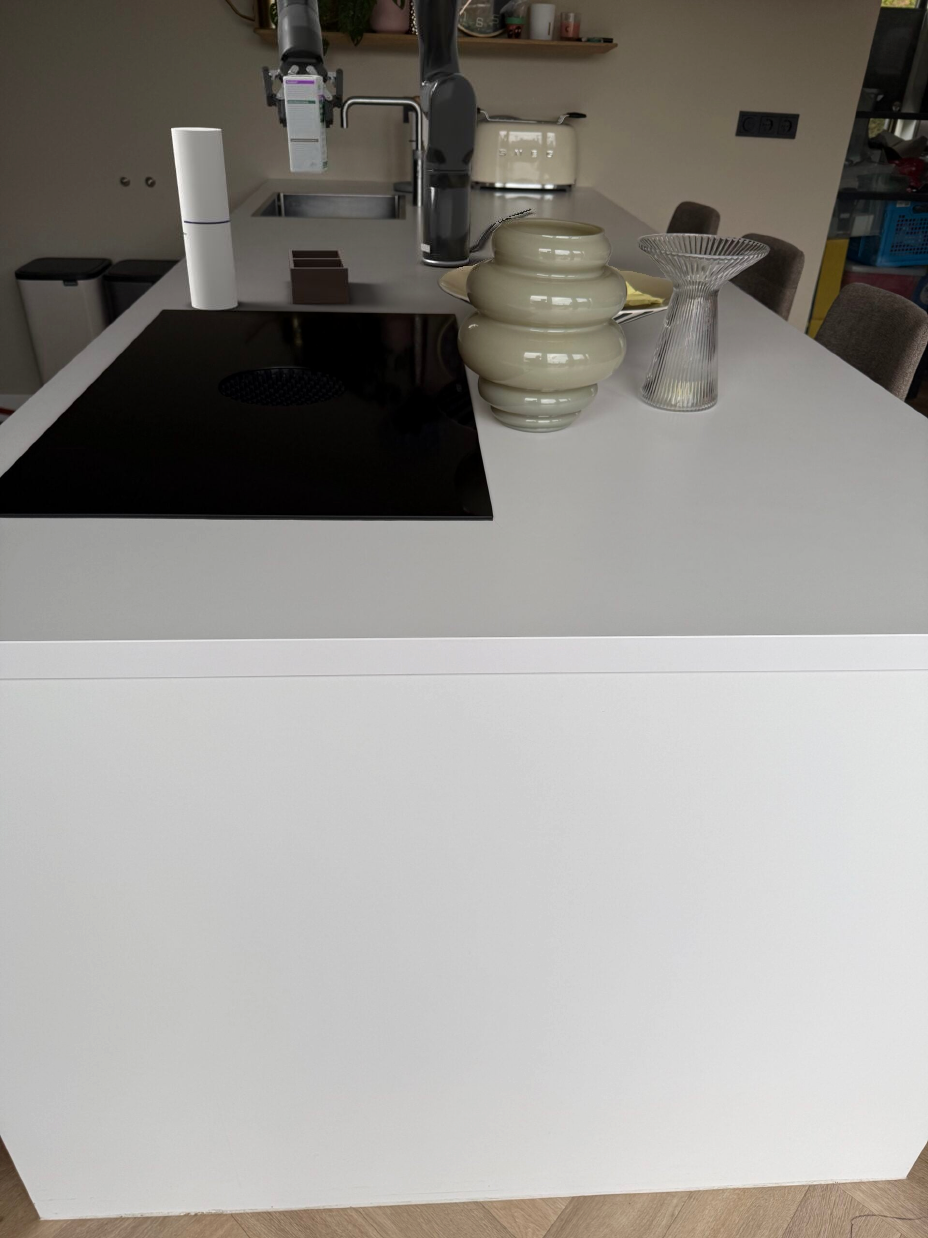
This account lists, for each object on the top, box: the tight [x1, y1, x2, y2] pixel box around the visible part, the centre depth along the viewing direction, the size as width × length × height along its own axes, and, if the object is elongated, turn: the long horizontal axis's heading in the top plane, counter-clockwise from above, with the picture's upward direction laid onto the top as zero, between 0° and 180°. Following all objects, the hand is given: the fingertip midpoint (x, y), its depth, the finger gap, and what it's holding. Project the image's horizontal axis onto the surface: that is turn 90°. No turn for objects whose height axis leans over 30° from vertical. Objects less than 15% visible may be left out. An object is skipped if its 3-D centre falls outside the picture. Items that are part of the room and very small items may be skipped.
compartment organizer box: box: [288, 249, 350, 305], centre depth 156 cm, size 18×9×6 cm, turn 10°
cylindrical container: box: [170, 127, 239, 311], centre depth 141 cm, size 7×7×25 cm
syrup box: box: [283, 75, 329, 174], centre depth 155 cm, size 6×6×14 cm
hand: (306, 123), depth 154 cm, fingers closed on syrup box, 6 cm apart
